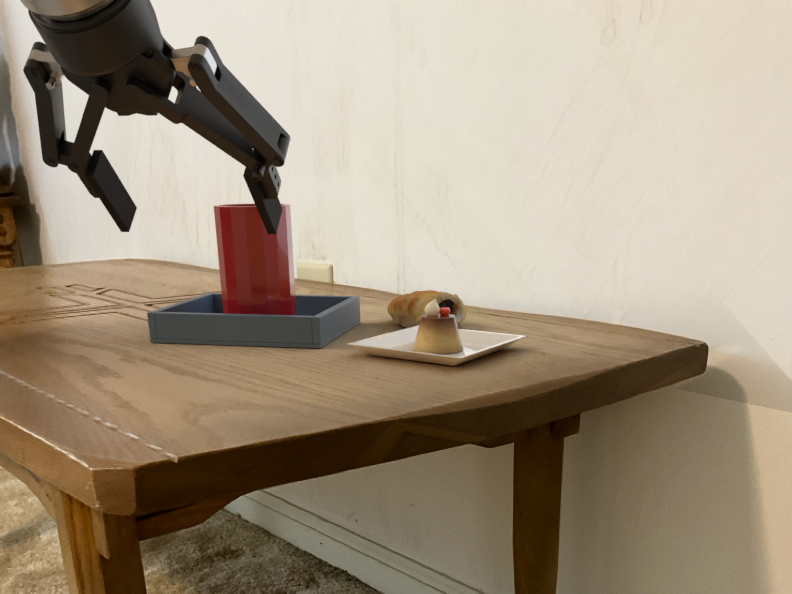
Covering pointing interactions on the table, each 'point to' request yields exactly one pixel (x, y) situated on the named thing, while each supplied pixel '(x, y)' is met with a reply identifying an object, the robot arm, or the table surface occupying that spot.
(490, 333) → the dessert
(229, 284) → the cup
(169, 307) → the serving tray
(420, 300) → the pastry
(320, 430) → the table surface
